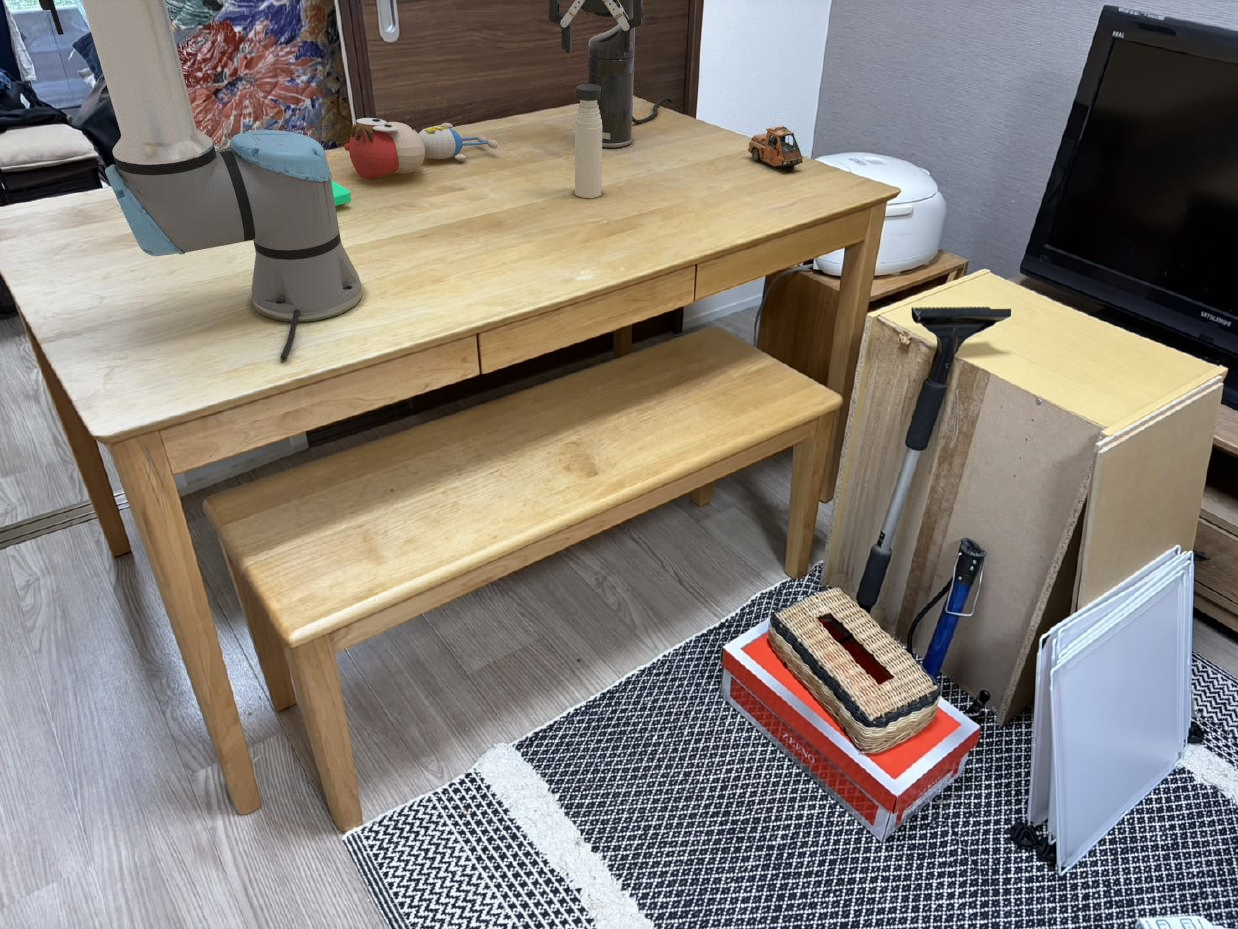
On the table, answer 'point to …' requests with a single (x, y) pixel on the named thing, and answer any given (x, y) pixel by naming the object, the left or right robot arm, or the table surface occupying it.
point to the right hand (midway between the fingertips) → (595, 53)
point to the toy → (402, 146)
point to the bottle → (588, 150)
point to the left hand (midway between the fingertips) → (108, 29)
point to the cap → (588, 92)
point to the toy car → (776, 148)
